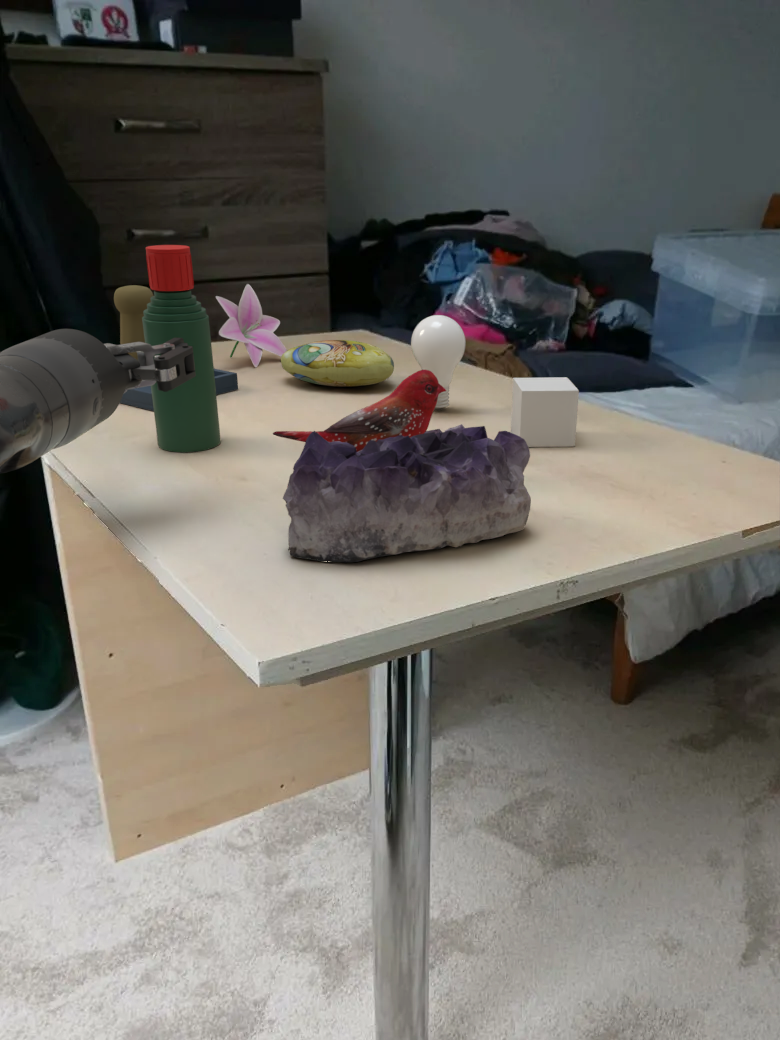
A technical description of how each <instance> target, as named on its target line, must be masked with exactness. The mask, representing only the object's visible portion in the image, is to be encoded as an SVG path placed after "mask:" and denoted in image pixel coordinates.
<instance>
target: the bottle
mask: <svg viewBox="0 0 780 1040" xmlns="http://www.w3.org/2000/svg"><path fill="white" fill-rule="evenodd" d="M143 313H144V316H143V317H142V322H143V330H144V338H145V343H147V344H150V345H151V346H155V345H161V344H163V343H165V342H167V341H169V340H171V339H173V338H183V340H184V343H187V344H188V346H192V347H193V354H194V363H195V373H196V376H195V377H193V378H192V379H190V380H188V381H186V382H185V383H183V384H181V385H179V386H178V387H176V388H174V389H172V390H169V391H167V392H163V391H159V390H158V388H157V381H156V383H155V384H154V385H151V393H152V400H153V408H154V411H153V415H154V423H155V424H154V425H155V431H156V439H157V446H158V447H159V448H160V449H161V450H164V451H167V452H174V453H193V452H201V451H202V452H203V451H208V450H209V449H213V448H216V447H218V446H219V445H220V444H221V441H222V440H221V439H222V438H221V430H220V419H219V410H218V409H219V408H218V399H217V395H216V387H215V377H214V369H215V368H214V359H213V346H212V338H211V326H210V317H209V314H208V313H207V309H206V308H205V307H203V306H202V302H201V301H198V300H197V295H195V294H192V289H190V290H183V291H156V290H153V296H152V297H151V302H150V303H148V304H147V309H145V310H144V311H143ZM156 355H160V356H161V353H160V354H155V355H154V356H156ZM153 360H154V357H153Z"/></svg>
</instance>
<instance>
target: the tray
mask: <svg viewBox="0 0 780 1040" xmlns="http://www.w3.org/2000/svg"><path fill="white" fill-rule="evenodd" d="M214 377H215V387H216V396H217V395H221V394H225V393H226V394H227V393H230V392H233V391H237V390H239V382H238V373H237V372H233V371H228V370H223V369H218V368H214ZM119 404H121V405H127V406H131V407H135V408H139V409H142V410H147V411H152V412H154V408H153V400H152V393H151V386H146V387H140V388H135V389H130V390H127V391H126V392H125V393H124V394H123V396H122V399H121V401H120V403H119Z"/></svg>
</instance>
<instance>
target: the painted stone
mask: <svg viewBox="0 0 780 1040" xmlns="http://www.w3.org/2000/svg"><path fill="white" fill-rule="evenodd" d="M286 350H287V349H286ZM280 363H281V366H282V369H283V370H284V371H285V372H286V373H287V374H289V375H291V376H292V377H294V378H296V379H298V380H300V381H303V382H306V383H311V384H315V385H321V386H328V387H339V388H340V387H341V388H343V387H344V388H346V387H350V388H351V387H362V386H369V385H375V384H378V383H382V382H384V381H386V380H388V379H389V378H390V377H391V376H393V373H394V370H395V363H394V359H393V358H392V356H390V354H388V353H387V352H386V351H385V350H383V349H382V348H380V347H378V346H377V345H374V344H370V343H367V342H362V341H357V340H351V339H350V340H349V339H326V340H318V341H313V342H308V343H303V344H300V345H297V346H293V347H292V348H289V349H288V350H287V351H286V352H285V353H283V355H282V356H281V357H280Z"/></svg>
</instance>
